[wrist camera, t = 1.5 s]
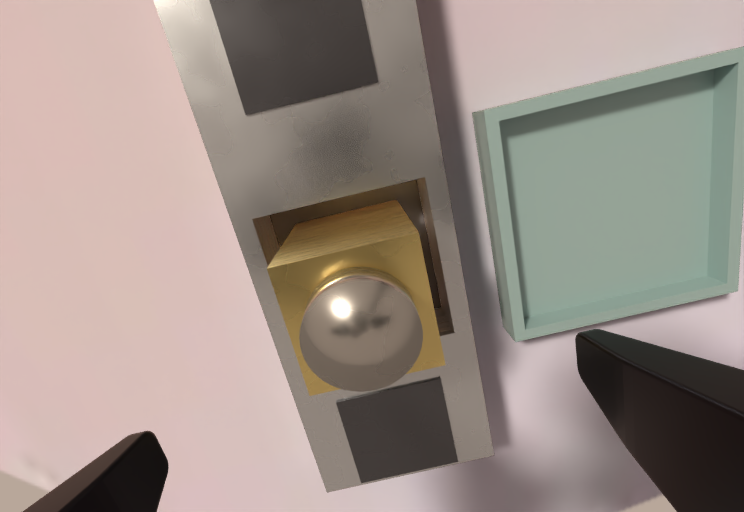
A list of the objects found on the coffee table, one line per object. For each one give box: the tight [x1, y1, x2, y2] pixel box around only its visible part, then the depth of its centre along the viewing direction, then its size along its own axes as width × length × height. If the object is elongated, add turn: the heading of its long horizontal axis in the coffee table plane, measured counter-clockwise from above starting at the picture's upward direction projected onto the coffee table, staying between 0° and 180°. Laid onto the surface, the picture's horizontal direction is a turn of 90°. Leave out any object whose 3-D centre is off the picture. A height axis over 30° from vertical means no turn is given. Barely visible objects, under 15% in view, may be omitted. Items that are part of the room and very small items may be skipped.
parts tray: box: [472, 47, 744, 342], centre depth 16 cm, size 10×10×2 cm
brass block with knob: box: [267, 199, 446, 396], centre depth 14 cm, size 4×4×7 cm
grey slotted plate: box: [153, 0, 494, 492], centre depth 16 cm, size 8×24×3 cm, turn 13°
